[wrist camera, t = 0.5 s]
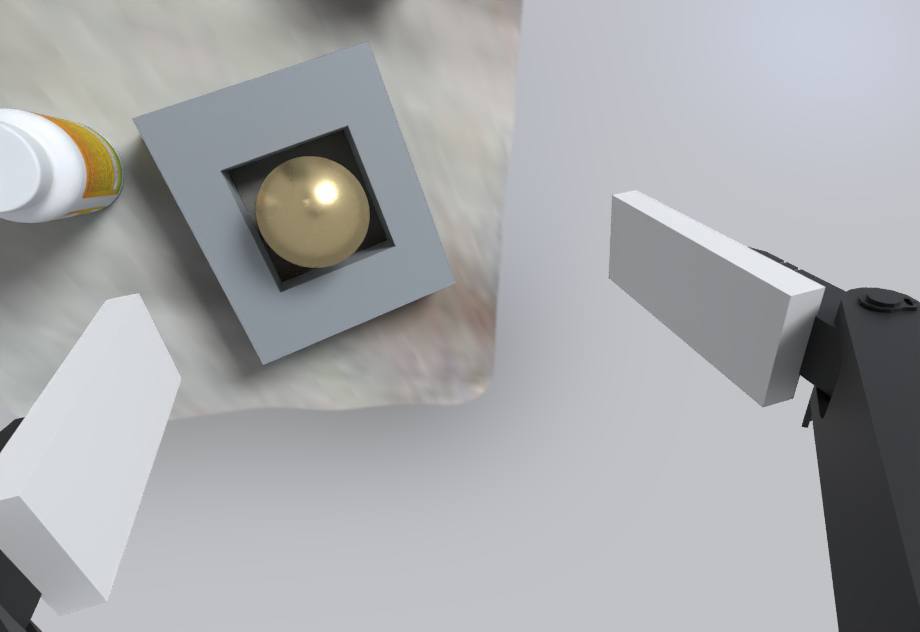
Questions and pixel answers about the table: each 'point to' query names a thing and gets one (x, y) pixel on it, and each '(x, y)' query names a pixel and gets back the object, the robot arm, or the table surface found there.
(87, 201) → the supplement bottle
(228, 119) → the socket plate
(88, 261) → the table surface
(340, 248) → the plunger disc
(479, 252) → the table surface
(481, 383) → the table surface
